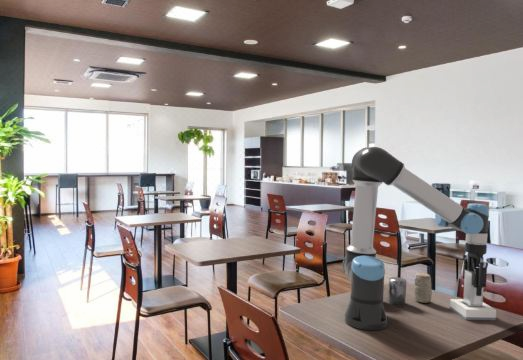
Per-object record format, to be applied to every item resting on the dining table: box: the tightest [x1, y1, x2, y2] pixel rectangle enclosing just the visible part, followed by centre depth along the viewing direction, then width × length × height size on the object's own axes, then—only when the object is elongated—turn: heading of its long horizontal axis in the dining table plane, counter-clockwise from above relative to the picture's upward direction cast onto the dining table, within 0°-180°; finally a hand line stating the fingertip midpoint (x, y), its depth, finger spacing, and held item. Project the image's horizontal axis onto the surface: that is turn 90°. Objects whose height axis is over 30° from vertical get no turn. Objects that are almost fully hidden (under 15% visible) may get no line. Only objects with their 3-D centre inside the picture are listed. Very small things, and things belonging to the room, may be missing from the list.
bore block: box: [449, 298, 497, 321], centre depth 166 cm, size 12×12×4 cm
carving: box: [413, 272, 433, 304], centre depth 179 cm, size 6×8×12 cm
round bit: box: [387, 276, 407, 307], centre depth 176 cm, size 7×7×10 cm
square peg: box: [462, 270, 485, 308], centre depth 165 cm, size 5×5×14 cm
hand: (472, 300), depth 165 cm, fingers closed on square peg, 5 cm apart
